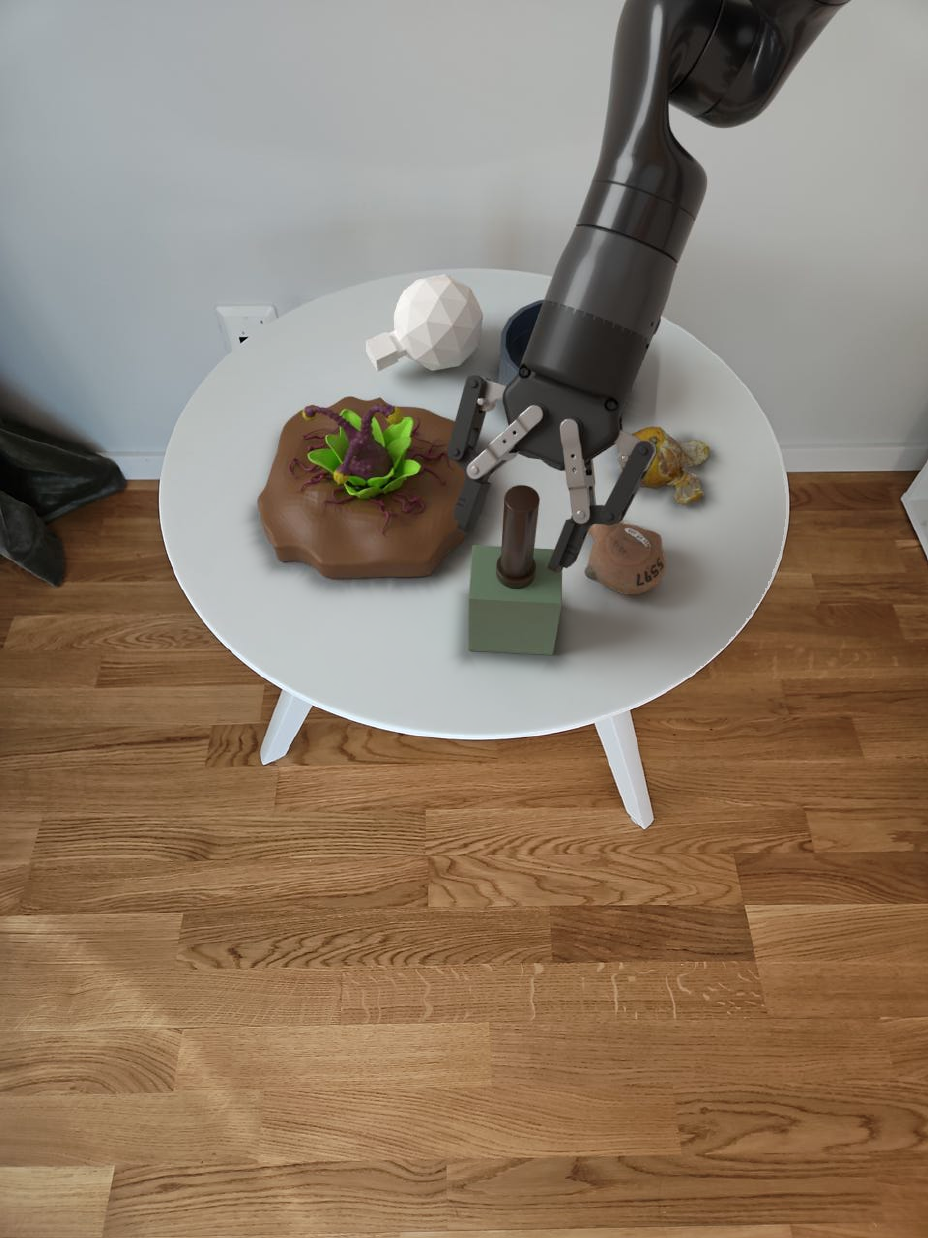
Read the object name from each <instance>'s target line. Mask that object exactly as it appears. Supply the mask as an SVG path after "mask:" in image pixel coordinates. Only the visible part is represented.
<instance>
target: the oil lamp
mask: <svg viewBox="0 0 928 1238" xmlns="http://www.w3.org/2000/svg"><path fill="white" fill-rule="evenodd" d="M587 534H589V536H590V537H591V538H592V540H593V544H592V546H591V550H590V553H589V556H588V562H587V565H586V567H585V569H584V575H585V576H586V578H587V579H590V580H591V581H594V582H597V583H600V584H602V585H603V586H605V587H606V588H608V589H610V590H613V591H616V592H618V593H621V594H627V595H637V594H642V593H647V592H648V591H650V590H652V589H654V588H655V587H656V586H657V585H658V584H659V583H660V582H661V580H662V578H663V577H664V575H665V572H666V567H667V563H666V562H667V561H666V557H665V552H664V548H663V539H662V535H661V534H659V533H658V532H656V531H654V530H651V529H647V528H643V527H640V526H637V525H634V524H630V523H624V522H622V521H621V522H619V523H615V524H613V525H605V524H593V525H592V526H591V527H590V528H589V530H588V533H587Z"/></svg>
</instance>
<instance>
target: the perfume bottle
mask: <svg viewBox="0 0 928 1238" xmlns="http://www.w3.org/2000/svg"><path fill="white" fill-rule="evenodd" d="M483 319H484V313H483V311H482V308H481V305H480V303H479V301H478V299H477V297H476V295H475V294H474V292H473V290H472V288H471V287H470V286H469V285H466V284H465V283H463V282H461V281H459V280H457V279H455V278H453V277H451V275H447V274H446V273H442V274H437V275H432V276H427V277H424V278H418V279H416V280H414V282H412V283H411V284H410V285H409V286H408V287H406V288H405V289H404V290H403V291H402V293H401V295H400V297H399V298H398V300H397V304H396V307H395V310H394V313H393V326H394V327H393V329H394V330H392V331H390V332H388V331H383V332H382V333H379V334H377V335H376V336H375V335H374V336H373V337H371V338H368V339H366V340H365V341H364V342H365V350H366V354H367V356H368V358H369V360H370V361H371V363H372V365H373V367H374V368H375V370H376V371H377V373H378V372H380V371H382V370H384V369H386V368H388V367H390V366H391V367H392V366H393V365H395V364H396V363H399V359H402V358H403V357H406V358H408V359H409V360H412V361H413V362H414V363H417V364H418V365H420V366H422V367H423V368H426V369H428V370H430V371H438V370H445V369H450V368H455V367H460V366H461V365H462V364H463V363H464V362H465V361H466V360H467V359H468V358H469V357H470V356H471V355H472V354H473V353H474V351H475V350H476V349H477V348H478V346H480V340H481V335H482V328H483Z"/></svg>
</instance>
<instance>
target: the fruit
mask: <svg viewBox="0 0 928 1238" xmlns="http://www.w3.org/2000/svg"><path fill="white" fill-rule="evenodd" d="M631 435H633V436H635V437H637V438H639V439H641V440H643V441H650V442H652V443H654V444H655V445H656V446H657V450H658V451H657V455H656V457H655V459H654V461H653V463H652V464H651V466H650V468H649V470H648V472H647V474H646V476H645V478H644V480H643V482H642V484H641V486H640V488H642V487H646V488H654V489H659V488H660V487H662V486H664V485H667V486H674V487H675V493H674V496H673V497H674V500H675V501H676V502H677V503H678V504H680V505H686V504H687V503H691V502H693V503H694V502H697V501H699V500H700V499H702V498H703V497H704V496H705V493H704V491H703V490H702V486H701V484H699V476H698V475H697V474H693V473H692V472H689V471H687V470H684V469H683V468H685V467H689V468H691V467H694V466H698V465H701V464H702V463H703V462H704V461H706V459H707V458H708V457H709V456H710V452H709V448H710V447H709V445H707V444H706V443H705V442H703V441H702V440H698V439H692V440H689V441H683V442H678V441H676V439H674V438H673V437H672V436H670V435H669V433H667V432H666V430H664V429H663V428H662V427H661V426H647V427H643V428H641V429H639V430H637V431H635V432H632V433H631ZM620 468H621V471H622V470H623V468H624V467H622V466H621V465H620Z"/></svg>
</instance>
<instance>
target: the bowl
mask: <svg viewBox="0 0 928 1238" xmlns="http://www.w3.org/2000/svg"><path fill="white" fill-rule="evenodd" d="M543 301H544V299H539V300H536V301H533V302H530V303H528V304H527V305H525V306H522V307H521V308H519V309H518V310H517V311H516V312H514V313H513V314H512V315H511V316H510V317H508V319H507V321H506V322H505V324H504V326H503V328H502V330H501V331H500V344H499V365H498V368H499V369H498V371H499V372H498V384H502V385H505V386H507V385H508V384H509V383H510V382H511V381H512V380H513V379H514V378H515V376H516V375H517V373H518V371H519V368H520V365H521V362H522V359H523V356H524V354H525V351H526V348H527V345H528V343H529V340H530V337H531V335H532V332H533V329H534V326H535V324H536V321H537V318H538V315H539V312H540V310H541V307H542V304H543ZM500 402H501V403H502V405H503V400H500Z"/></svg>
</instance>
